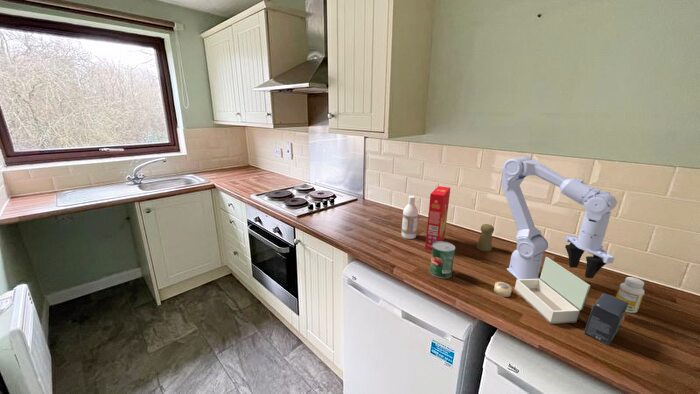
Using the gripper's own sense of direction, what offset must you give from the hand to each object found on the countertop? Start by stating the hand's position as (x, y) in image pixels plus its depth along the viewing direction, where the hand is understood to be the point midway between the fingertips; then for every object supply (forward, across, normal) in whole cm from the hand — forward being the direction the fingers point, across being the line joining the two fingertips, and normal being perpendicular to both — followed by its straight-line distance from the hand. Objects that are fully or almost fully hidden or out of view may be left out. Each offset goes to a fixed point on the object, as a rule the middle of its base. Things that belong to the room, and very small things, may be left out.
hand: (580, 272), depth 89 cm
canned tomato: (+10, +18, +37) cm, 42 cm away
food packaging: (+10, +42, +30) cm, 53 cm away
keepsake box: (+10, -2, +12) cm, 16 cm away
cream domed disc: (+10, +5, +21) cm, 24 cm away
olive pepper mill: (+10, +36, +10) cm, 39 cm away
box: (+10, -14, +4) cm, 18 cm away
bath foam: (+10, +50, +40) cm, 65 cm away
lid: (+2, -2, +8) cm, 8 cm away
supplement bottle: (+10, -5, -13) cm, 17 cm away
